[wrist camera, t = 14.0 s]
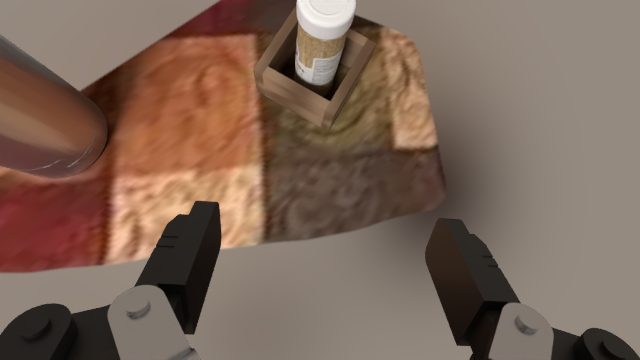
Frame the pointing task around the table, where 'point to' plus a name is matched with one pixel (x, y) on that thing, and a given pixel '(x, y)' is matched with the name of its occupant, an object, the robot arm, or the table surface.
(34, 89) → the robot arm
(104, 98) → the table surface
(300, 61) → the sprinkles bottle
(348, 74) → the open square sleeve
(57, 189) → the table surface
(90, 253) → the table surface
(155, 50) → the table surface
